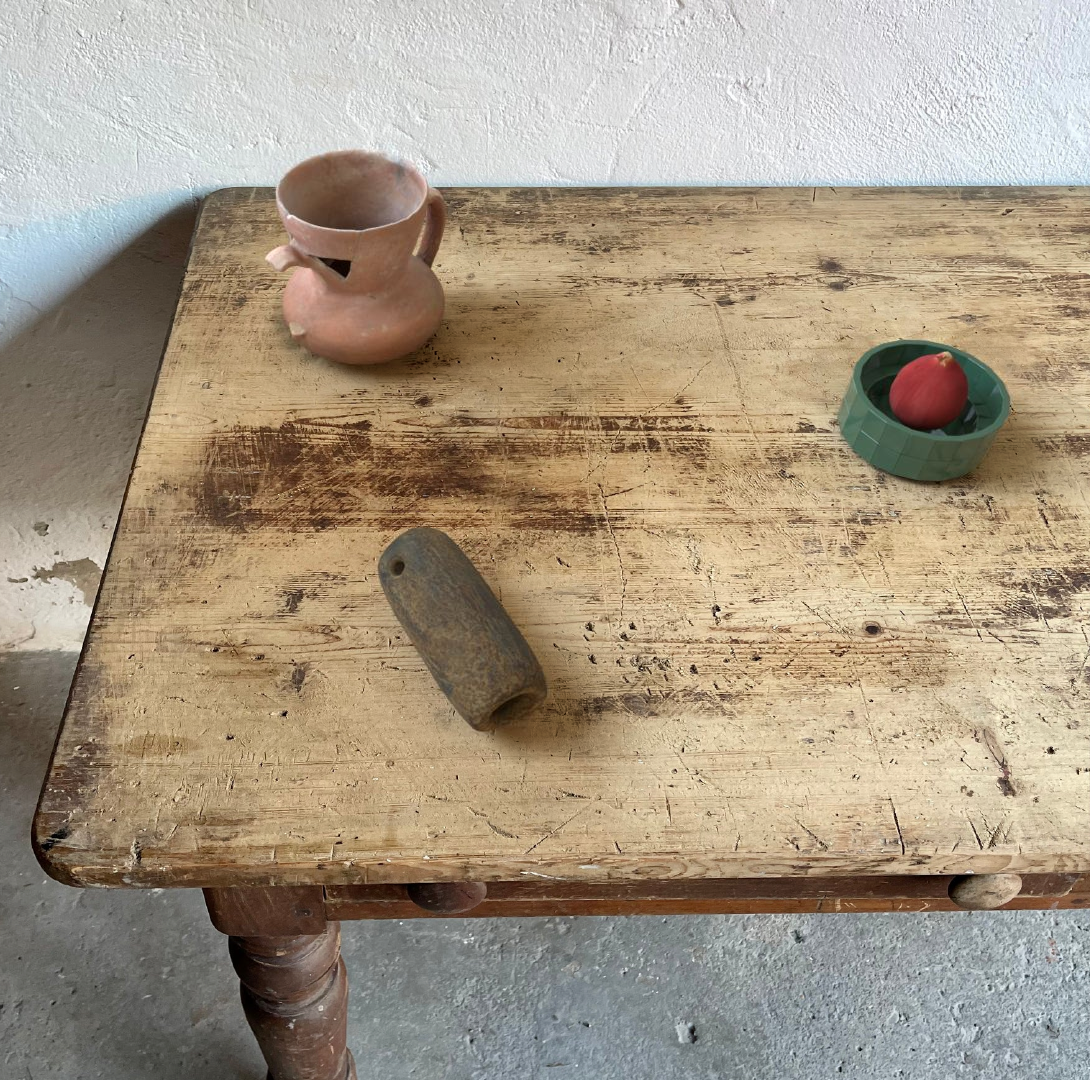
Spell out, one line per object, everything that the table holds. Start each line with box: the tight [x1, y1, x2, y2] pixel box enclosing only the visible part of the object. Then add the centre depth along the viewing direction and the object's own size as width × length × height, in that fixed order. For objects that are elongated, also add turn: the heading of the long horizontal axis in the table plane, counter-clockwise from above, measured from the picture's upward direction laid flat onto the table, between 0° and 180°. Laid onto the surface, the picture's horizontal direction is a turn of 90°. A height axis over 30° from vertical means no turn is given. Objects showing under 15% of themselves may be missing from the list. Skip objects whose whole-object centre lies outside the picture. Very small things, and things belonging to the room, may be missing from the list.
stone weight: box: [377, 526, 548, 733], centre depth 68 cm, size 15×7×7 cm, turn 34°
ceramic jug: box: [264, 148, 447, 365], centre depth 86 cm, size 18×14×14 cm
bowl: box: [836, 339, 1011, 482], centre depth 82 cm, size 12×12×5 cm
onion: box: [889, 352, 968, 431], centre depth 80 cm, size 6×6×8 cm
